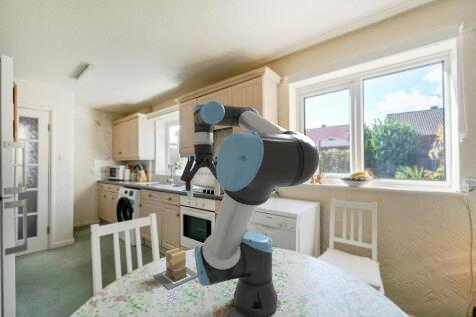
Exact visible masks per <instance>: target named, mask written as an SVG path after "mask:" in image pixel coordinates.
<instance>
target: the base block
mask: <svg viewBox="0 0 476 317" xmlns="http://www.w3.org/2000/svg"><path fill="white" fill-rule="evenodd" d="M165 267H166V268H165V269H166V270H165V271H166V274H167V275H168V276H169V277H171V278H172V279H173V280H174V281H178V280H180V279H182V278H185V277H186V267H187V266H186V267H185V266H184V267H181V268H179V269H176V270H174V271H172V270H171V269H170V268H168V267H167V266H166V265H165Z"/></svg>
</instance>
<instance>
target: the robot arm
mask: <svg viewBox="0 0 476 317" xmlns="http://www.w3.org/2000/svg"><path fill="white" fill-rule="evenodd" d="M214 126H218V127H219V126H221V127H235V128H239V129H241V130H242V131H243V132H233V133H230V134H229V135H227V136H226V137H225V138H224V139H223V141H222V143H221V145H220V146H219V148H218V151H217V152H218V153H217V155H216V156H213V154H214V145H213V144H214ZM193 136H194V139H193V142H194V146H193V149H194V151H193V152H194V153H193V154H194V155H188V156H187V162H186V165H185V167H184V169H183V171H182V174H181V176H180V181H183V183H185V186H184V187H185V191H187V192H186V199H187V200H191V201H193V200H194V182H192V181H193V179H194V178H195V176H196V174H197V173H198V171H199V170H200V169H201V168H207V169H209V171H210V173H212V175H213V178H214V179H213V180H214V181H213V182H214V187H213V188H214V196H218V197H220V196H221V189H222V191H223V193H224V194H223V195H222V196H223V197H222V200H221V203H220V205H219V206H220V207H219V210H218V212H217V216H216V220H215V222H214V226H213V229H212V233H211V234H210V235H209V236H208V237H207V238H205V241H204V242H203V244H200V245H197V246H195V248H194V260H195V267H196V273H197V275H198V277H197V279H198V282H199V284H200V285H201V286H202V287H207V286H208V287H209V286H213V285H215V284H216V285H217V284H219V283H224V282H227V281H232V280H236V279H238V280H237V284H236V286H235V291H234V294H233V305H234V308H236V310H237V312H239V313H240V314H242V315H244V316H247V317H267V316H270V315H272V314H273V313H275V312H276V310H277V308H278V304H279V303H278V301H279V300H278V294H277V292H276V289H275V286H274V282H273V251H274V250H273V246H272V245H273V242H272V241H271V240H272V239H270V238H271V237H269V236H267V235H265V234H263V233H260V232H255V231H247V230H248V228H249V226H250V223H251V222H252V219H253V217H254V214H256V213H255V212H256V211H257V209H258V206H261V205H263V204H265V203H267V201H268V200H270V196H271V194H273V191H274V189H276V188H288V187H295V186H299V185H303V184H305V183H306V182H308V181H309V180H310V179H311V178H312V177H314V175H315V174H316V172H317V170H318V167H319V162H320V153H319V150H318V147H317V146H316V144H315V143H314V141H313V140H312V139H311V138H310V137H308V136H306V135H305V134H303V133H300V132H298V131H297V130H293V129H288V130H286V129H285V128H283V127H281V126H280V125H277V124H276V123H274V122H272V121H271V120H269V119H267V118H265V117H263V116H262V115H260V113H259V112H258V109H257V108H253V107H249V106H247V107H246V106H245V107H244V106H235V105H225V104H222V103H220V102H219V101H216V100H211V101H208V102H206V103H201V104H200V103H199V104H195V106H194V107H193Z"/></svg>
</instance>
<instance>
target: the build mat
mask: <svg viewBox="0 0 476 317" xmlns="http://www.w3.org/2000/svg"><path fill="white" fill-rule="evenodd" d="M185 267H186V277H185V278H182V279H180V280H178V281H174V280H173V279H172V278H171V277H169V276H168V275H167V274H166V270H164V271H161V272H159V273H156V274H153V275H152V276H153V277H154V279H156V280H157V281H158V282H159V283H160V284H162V286H163V287H164V288H166V289H167V290H168V291H170V290H173V289H175V288H176V287H179V286H182V285H183V284H185V283H189V281H193V280H195V279H198V275H197V272H195V271H193V270H192V269H190V268H189V267H187V266H185Z"/></svg>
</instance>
